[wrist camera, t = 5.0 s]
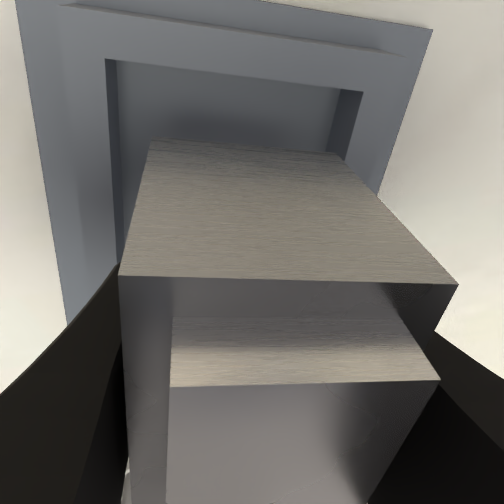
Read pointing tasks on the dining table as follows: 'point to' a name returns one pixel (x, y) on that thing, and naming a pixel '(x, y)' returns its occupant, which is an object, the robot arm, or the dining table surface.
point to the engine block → (269, 328)
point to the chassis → (196, 100)
